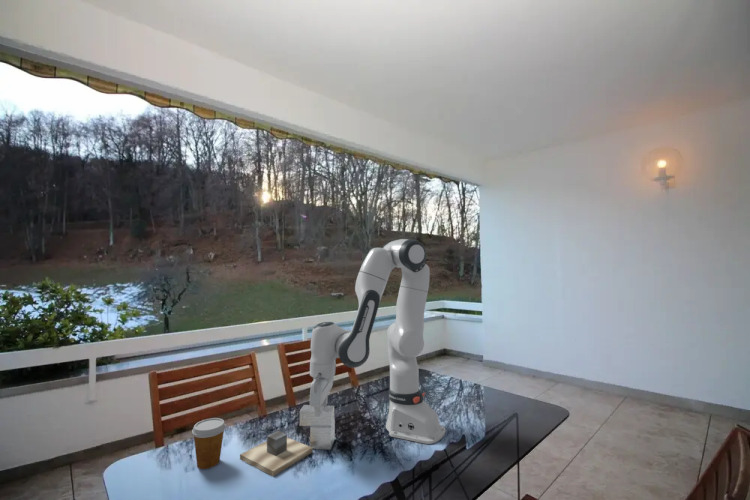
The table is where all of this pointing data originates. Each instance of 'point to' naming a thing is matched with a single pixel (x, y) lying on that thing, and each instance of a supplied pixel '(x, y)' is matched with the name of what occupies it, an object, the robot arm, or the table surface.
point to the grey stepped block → (319, 426)
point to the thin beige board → (276, 453)
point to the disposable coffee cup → (208, 442)
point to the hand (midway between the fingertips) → (321, 410)
